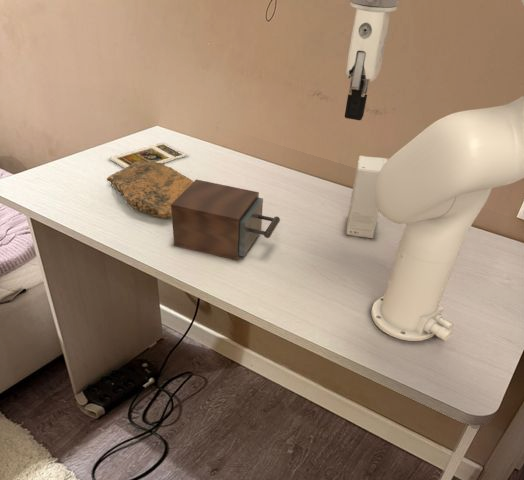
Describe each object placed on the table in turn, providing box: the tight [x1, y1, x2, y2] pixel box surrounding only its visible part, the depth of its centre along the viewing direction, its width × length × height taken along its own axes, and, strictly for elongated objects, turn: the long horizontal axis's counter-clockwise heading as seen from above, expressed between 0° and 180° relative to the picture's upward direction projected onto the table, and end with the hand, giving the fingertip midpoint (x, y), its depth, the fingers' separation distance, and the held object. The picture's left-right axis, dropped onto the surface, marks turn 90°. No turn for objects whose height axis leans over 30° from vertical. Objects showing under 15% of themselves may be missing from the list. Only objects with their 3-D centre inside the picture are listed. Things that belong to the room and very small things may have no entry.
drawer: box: [239, 197, 281, 257], centre depth 104 cm, size 18×11×8 cm, turn 72°
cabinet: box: [171, 179, 260, 261], centre depth 104 cm, size 15×13×10 cm
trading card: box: [109, 142, 187, 169], centre depth 136 cm, size 11×1×18 cm
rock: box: [106, 161, 194, 219], centre depth 118 cm, size 25×6×20 cm
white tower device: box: [345, 155, 389, 239], centre depth 109 cm, size 8×7×16 cm
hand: (353, 117), depth 90 cm, fingers closed
